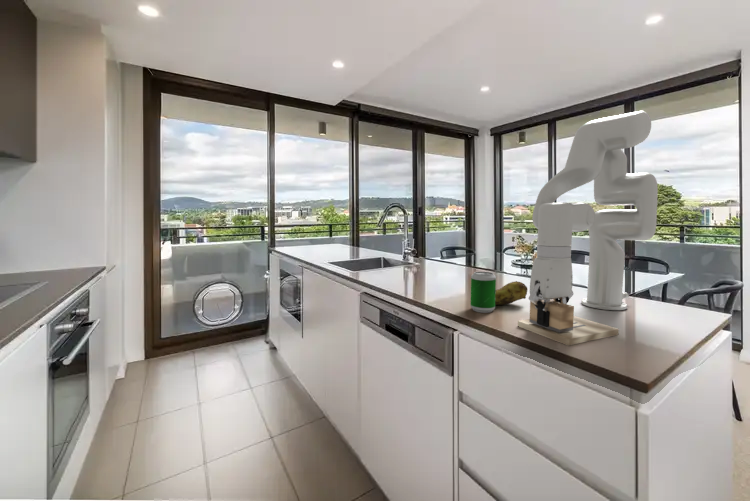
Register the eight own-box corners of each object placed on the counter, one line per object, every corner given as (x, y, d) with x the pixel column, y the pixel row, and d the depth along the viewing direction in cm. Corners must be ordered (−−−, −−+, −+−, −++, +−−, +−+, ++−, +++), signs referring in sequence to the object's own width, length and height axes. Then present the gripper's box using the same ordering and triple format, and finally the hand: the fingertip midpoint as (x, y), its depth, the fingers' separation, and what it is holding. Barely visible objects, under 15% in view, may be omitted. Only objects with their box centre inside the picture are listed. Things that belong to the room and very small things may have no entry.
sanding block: (541, 319, 90) (542, 298, 90) (572, 330, 82) (574, 306, 82) (529, 322, 89) (530, 299, 88) (559, 332, 80) (560, 308, 80)
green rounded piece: (485, 300, 119) (486, 278, 118) (524, 302, 116) (525, 280, 115) (487, 306, 111) (488, 283, 110) (529, 309, 108) (530, 284, 107)
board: (564, 318, 98) (564, 313, 98) (618, 334, 84) (618, 328, 84) (517, 326, 91) (518, 320, 91) (568, 345, 78) (568, 339, 77)
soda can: (496, 314, 103) (498, 275, 102) (471, 312, 104) (472, 274, 103) (493, 307, 110) (494, 271, 109) (469, 306, 112) (470, 270, 110)
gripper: (564, 249, 90) (560, 316, 92) (516, 253, 84) (513, 324, 86) (591, 252, 83) (587, 324, 85) (541, 256, 77) (538, 333, 79)
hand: (550, 323), depth 85 cm, fingers closed on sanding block, 4 cm apart
